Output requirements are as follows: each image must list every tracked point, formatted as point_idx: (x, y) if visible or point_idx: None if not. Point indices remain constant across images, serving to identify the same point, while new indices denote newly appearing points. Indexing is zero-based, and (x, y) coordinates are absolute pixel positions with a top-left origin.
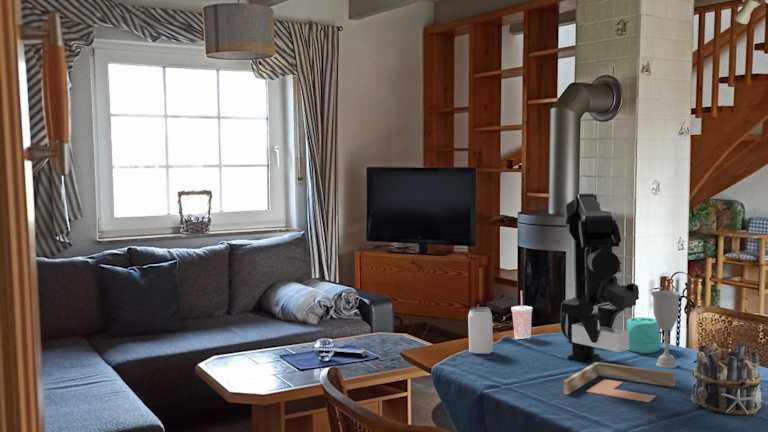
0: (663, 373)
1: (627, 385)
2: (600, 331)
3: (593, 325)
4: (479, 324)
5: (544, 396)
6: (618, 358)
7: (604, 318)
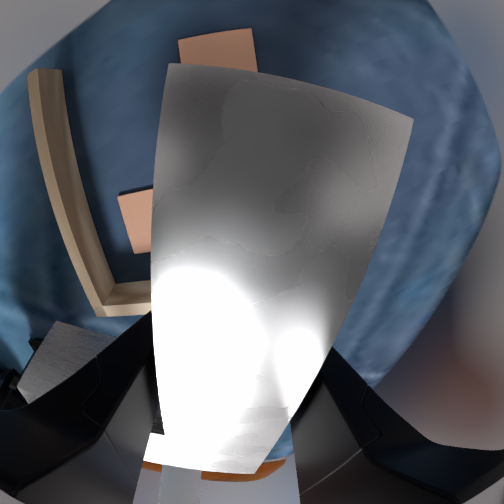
0: (42, 97)
1: (127, 172)
2: (323, 350)
3: (395, 413)
4: (193, 496)
5: (369, 291)
6: (7, 307)
7: (128, 452)
